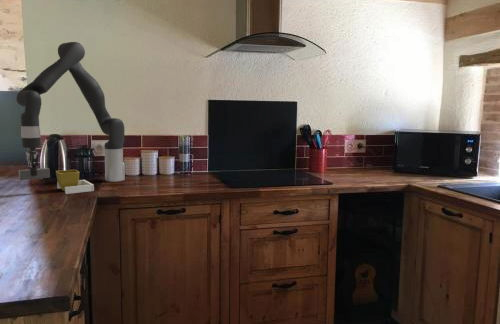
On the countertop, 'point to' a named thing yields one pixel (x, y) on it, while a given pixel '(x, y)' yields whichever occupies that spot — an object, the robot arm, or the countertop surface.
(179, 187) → the countertop surface
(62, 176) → the flower pot
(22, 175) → the tall gray bar
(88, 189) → the white shallow tray
